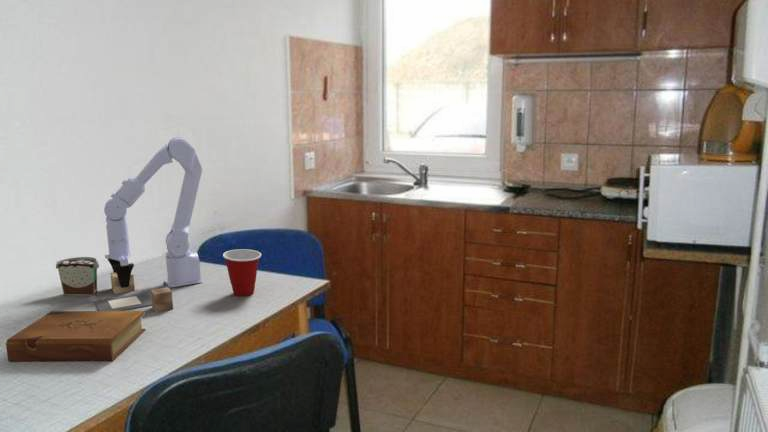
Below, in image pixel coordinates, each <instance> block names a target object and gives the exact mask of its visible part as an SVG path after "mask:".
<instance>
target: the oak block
mask: <svg viewBox="0 0 768 432" xmlns="http://www.w3.org/2000/svg"><path fill="white" fill-rule="evenodd" d="M109 275H110V282H111V283H110V284H111V289H112V292H114V294H120V293H127V292H133V291H135V290H136V287H135V279H134V273H133V272H132V271H131V275H130V283H129V287H125V288H121V286H120V283H119V279H118V276H117V273H116V272H110V273H109Z"/></svg>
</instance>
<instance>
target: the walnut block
mask: <svg viewBox="0 0 768 432" xmlns="http://www.w3.org/2000/svg"><path fill="white" fill-rule="evenodd" d="M150 298H151V299H152V306H151V307H152V309H153V311H154V312H155V313H160V312H166V311H170V310H174V303H173V292H172V290H171V288H170V287H169V286H167V287H162V288H154V289H150Z"/></svg>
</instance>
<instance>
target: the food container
mask: <svg viewBox="0 0 768 432" xmlns="http://www.w3.org/2000/svg"><path fill="white" fill-rule="evenodd" d="M99 268H100V264H99V261H98V260H97V258H95V257H92V256H76V257H69V258H65V259H60V260H58V261H56V264H55V269H56V270H58V275H59V279H60V283H61V288H62V292H63V295H64V296H92V297H93V296H96V295H97V293H98V269H99Z"/></svg>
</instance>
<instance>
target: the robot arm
mask: <svg viewBox="0 0 768 432" xmlns="http://www.w3.org/2000/svg"><path fill="white" fill-rule="evenodd" d="M173 159H174V160H175V161H176V162H177V163H179V164H180V165H179V166H181V167H182V169H183V170H184V175H183V178H182V179H183V180H182V183H181V188H180V193H179V198H178V201H177V205H176V211H175V214H174V220H173V222H172V225H171V228H170V231H169V232H168V234H167V235H166V237H165V244H166V250H167V252H165V262H166V263H165V264H166V273H167V275H166V277H167V279H164V283H165V284H166V285H167V287H168V288H177V287H182V286H188V285H189V286H190V285H194V284H195V285H196V284H200V283H202V277H201V275H202V274H201V262H200V257H199V255H198V252H191V250H189V249H190V243H189V236H190V235H189V232H190V225H191V220H192V218H193V217H192V216H193V211H194V207H195V205H196V204H195V203H196V198H197V194H198V190H199V186H200V181H201V176H202V172H203V167H202V164H201V162H200V159H199V158H198V155H197V152H196V150H195V148H194V147H193V146H192V145H191V144H190V143H189V141H187V140H186V139H185V138H183V137H179V136H177V137H173V138H172V139H170V140H169V142H168V144H165V145H164V146H162V147H161V148H160V149H159V150H158V151H157V152H156V153H155V154H154V155H153V157H152V158H151V159H150V160H149V161H148V162H147V163H146V165H145V166H144V167H143V168H142V170H140V172H139V173H138V174H137V175H136V177H129V178H128V179H127V180H126V179H124V180H123V181H122V182H121V186H120V188H118V190H116V191H115V193H112V194H111V195H110V197H111V198H110V199H108V200H107V201H106V203H105V204H104V205H105V206H104V208H103V209H104V210H103V211H104V214H105V216H106V218H105V223H106V228H105V229H106V236H107V246H108V254H104V258H105V259H107V262H109V265H110V266H111V268H112V273H114V272H116V273H117V276H118V279H119V283H120V286H121V288H125V287H129V283H130V275H131V272H132V270H133V269H134V267H135V264H134V263H133V262H131V263H129V259H130V258H131V255H132V253H131V247H130V246H131V245H130V238H129V227H128V226H129V225H128V222H127V218H126V217H127V216H126V215H127V209H128V208H132V206H133V205H134V204H135V203H136V202H137V201H138V199H139V198H140V197H141V196H142V195H143V194H144V193H145V192H146V186H145V185H146V184H147V183H148V181H150V180H151V178H152V177H153V176H154V175H155V174H156V173H157V172H158V171H159V170H160V169H161V168H162V167H163V166H164V165H169V164H171V163H172V164H173V163H174V161H173Z"/></svg>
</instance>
